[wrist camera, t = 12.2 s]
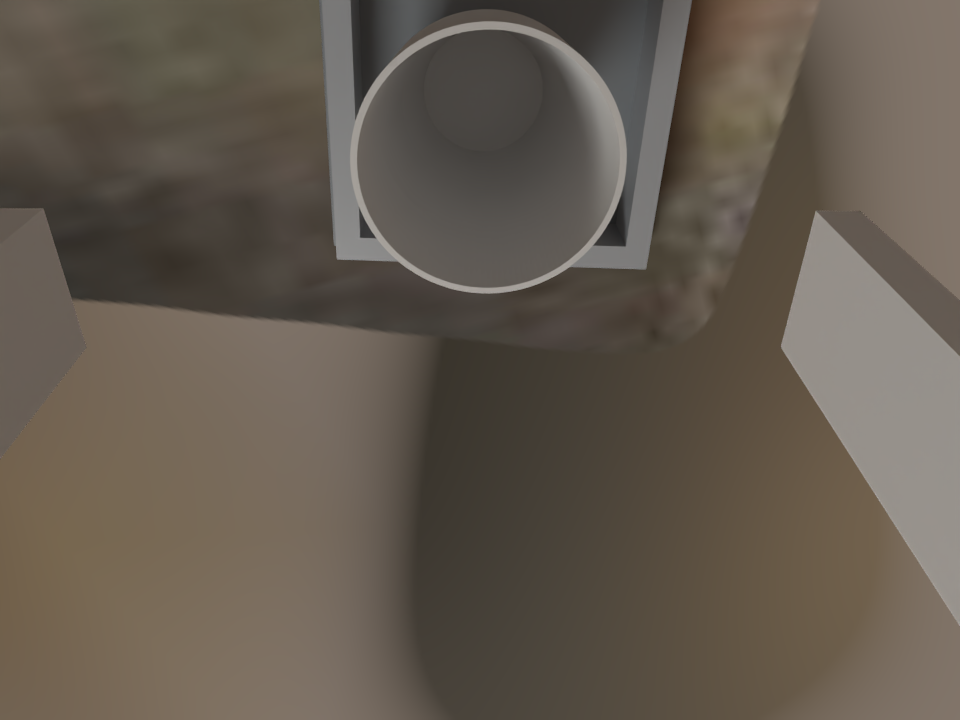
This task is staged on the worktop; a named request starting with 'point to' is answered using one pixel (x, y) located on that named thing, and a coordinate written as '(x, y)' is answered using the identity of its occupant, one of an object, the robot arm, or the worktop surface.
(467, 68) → the cup
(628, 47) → the dish rack
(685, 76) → the worktop surface
